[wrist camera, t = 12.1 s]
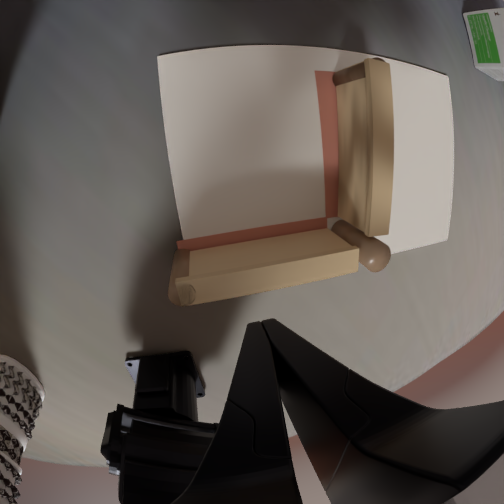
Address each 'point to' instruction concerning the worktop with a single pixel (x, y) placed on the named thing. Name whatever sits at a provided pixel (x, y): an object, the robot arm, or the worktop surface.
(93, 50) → the worktop surface
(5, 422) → the decorative candle
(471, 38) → the skincare box
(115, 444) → the robot arm
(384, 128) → the folding fence panel
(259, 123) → the fence post and layout card
